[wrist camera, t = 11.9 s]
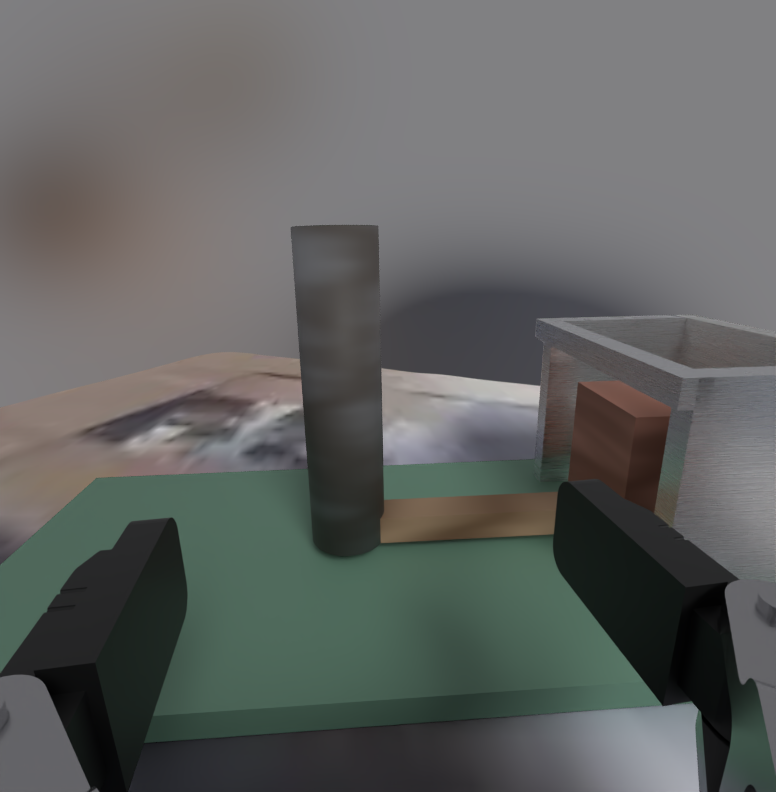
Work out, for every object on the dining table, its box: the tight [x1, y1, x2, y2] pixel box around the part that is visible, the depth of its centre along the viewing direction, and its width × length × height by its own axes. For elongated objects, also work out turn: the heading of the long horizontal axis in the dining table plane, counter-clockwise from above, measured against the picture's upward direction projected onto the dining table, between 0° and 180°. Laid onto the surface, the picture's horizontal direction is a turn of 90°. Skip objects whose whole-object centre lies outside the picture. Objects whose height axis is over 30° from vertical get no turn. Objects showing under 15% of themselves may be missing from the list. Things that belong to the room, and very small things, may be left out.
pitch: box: [0, 459, 693, 743], centre depth 22 cm, size 34×16×1 cm, turn 94°
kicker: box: [291, 225, 671, 556], centre depth 20 cm, size 15×5×13 cm, turn 94°
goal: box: [534, 315, 776, 583], centre depth 22 cm, size 8×12×9 cm
